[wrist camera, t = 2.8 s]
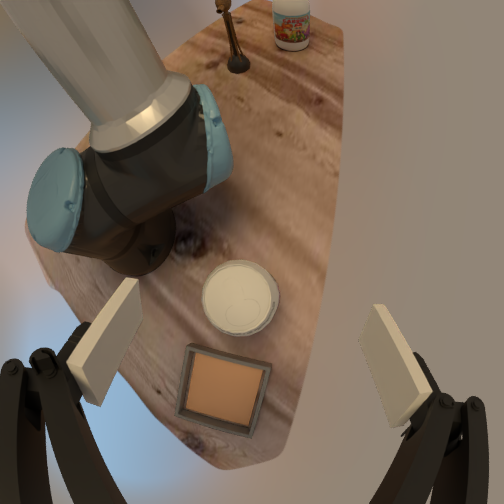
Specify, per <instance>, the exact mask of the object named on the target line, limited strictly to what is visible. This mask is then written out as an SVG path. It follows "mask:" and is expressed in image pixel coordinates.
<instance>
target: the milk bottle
mask: <svg viewBox="0 0 504 504" xmlns="http://www.w3.org/2000/svg"><path fill="white" fill-rule="evenodd" d="M272 12H273V24H274V35H275V43H276V44H277V45H278V46H279V47H280V48H282V49H284V50H288V51H298V50H302V49H304V48H306V47H307V45H308V44H309V28H310V7H309V2H308V0H273V2H272Z"/></svg>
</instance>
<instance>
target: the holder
mask: <svg viewBox="0 0 504 504" xmlns="http://www.w3.org/2000/svg"><path fill="white" fill-rule="evenodd" d="M193 352H196V355H195V361H194V366H193V371H192V376H191V382H190V387H189V393H188V398H187V404H186V408H188V409H191V410H194V411H197V412H200V413H203V414H207V415H210V416H213V417H217V418H220V419H224V420H228V421H231V422H235V423H239V424H243V425H247V426H248V425H249V421H250V418H251V414H252V410H253V406H254V403H255V399H256V395H257V391H258V387H259V384H260V380H261V376H262V372H263V370H265V371H266V373H265V377H264V381H263V385H262V388H261V392H260V396H259V400H258V403H257V407H256V411H255V414H254V418H253V422H252V425H251V428H248V427H244V426H240V425H236V424H232V423H228V422H224V421H221V420H217V419H214V418H210V417H207V416H204V415H201V414H197V413H194V412H191V411H188V410H185V409H183V407H184V401H185V395H186V389H187V384H188V378H189V373H190V368H191V362H192V357H193ZM271 365H272V363H267V362H263V361H258V360H254V359H250V358H246V357H242V356H238V355H234V354H230V353H226V352H222V351H219V350H215V349H211V348H208V347H204V346H201V345H197V344H194V343H190V344H188V345H187V346H186V350H185V356H184V361H183V367H182V372H181V378H180V384H179V390H178V396H177V402H176V408H175V415H174V416H176V417H179V418H182V419H185V420H188V421H191V422H194V423H197V424H200V425H203V426H206V427H209V428H213V429H216V430H220V431H223V432H227V433H231V434H235V435H239V436H243V437H247V438H251V439H252V436H253V432H254V429H255V425H256V422H257V418H258V415H259V411H260V408H261V404H262V400H263V397H264V393H265V389H266V385H267V382H268V378H269V374H270V370H271Z"/></svg>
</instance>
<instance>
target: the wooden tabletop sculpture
mask: <svg viewBox="0 0 504 504" xmlns="http://www.w3.org/2000/svg"><path fill="white" fill-rule="evenodd" d="M215 4H216V7H217V11H216V12H217V13H219V14H221V13H222V12H224V13H223V14H222V16H223V18H224V22H225V26H226V30H227V34H228V38H229V44H230V51H231V57H230V58H229V60H228V64H227V67H228V69H229V71H230V72H232V73H236V74H238V73H243V72H245V71H247V70H248V69H249V68H250V61H249V59H248V58H247V57H246V56H245V55H244V54H243V53H242V51H241V49H240V46H239V44H238V40H237V37H236V34H235V30H234V26H233V22H232V18H231V13H230V12H228V10H229V9H230V7H231V0H215ZM235 40H236V41H235ZM236 43H237V44H236ZM231 44H232V45H231ZM237 46H238V48H239V50H240V52H241V54H239V51H238V48H237ZM232 50H233V55H232Z"/></svg>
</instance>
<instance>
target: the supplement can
mask: <svg viewBox="0 0 504 504" xmlns="http://www.w3.org/2000/svg"><path fill="white" fill-rule="evenodd" d="M201 301H202V305H203V309H204V313H205V315H206V316H207V318H208V319H209V321H210V322H211V324H212V325H213V326H214V327H216V328H217V329H218V330H220V331H221V332H222V333H226V334H229V335H232V336H249V335H252V334H254V333H257V332H259V331H261V330H262V329H263V328H264V327H265V326H266V325H267V324H268V323H270V322H271V320H272V318H273V316H274V314H275V312H276V310H277V307H278V305H279V301H280V291H279V287H278V284H277V282H276V281H275V279H274V278H273V276H272V275H271V274H270V273H269V272H268V271H267V270H265V269H264V268H262V267H261V266H259V265H258V264H257V263H254V262H251V261H247V260H243V259H242V260H230V261H227V262H225V263H223V264H221V265H219V266H217V267H216V268H215V269H214V270H213V271H212V272H211V273H210V274H209V275H208V277H207V279H206V281H205V283H204V286H203V288H202V299H201Z"/></svg>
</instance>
